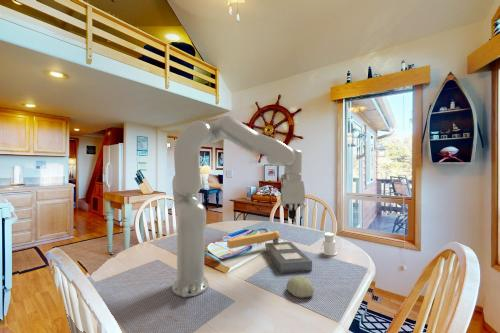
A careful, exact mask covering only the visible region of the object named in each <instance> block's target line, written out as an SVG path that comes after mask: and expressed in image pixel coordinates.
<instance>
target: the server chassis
mask: <svg viewBox="0 0 500 333" xmlns="http://www.w3.org/2000/svg"><path fill="white" fill-rule="evenodd" d="M265 247H266V252H265V253H266V254H267V256H268V257H269V259H270V260H271V261H272V263H273V264H274V266H275V267H276V269H277V270H278V272H279V273H280V274H285V273H286V274H289V273H298V272H299V273H300V272H309V271H310V272H311V271H313V260H311V259H310V258H309V257H308V256H307V255H306V254H305V253H304V252H302V251H301V250H300V248H298V247H297V246H296V245H295V244H294V243H292V242H291V241H282V242H279V239H275V240H272V242H267V243H266V242H265V244H264V248H265Z"/></svg>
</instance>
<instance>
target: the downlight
mask: <svg viewBox="0 0 500 333" xmlns="http://www.w3.org/2000/svg"><path fill="white" fill-rule="evenodd" d="M338 245H339V244H338V243H337V244H336V240H335V234H334V233H332V232H325V233H324V239H323V241H322V245H321V248H320V249H321V251H322V254H324V255H327V256H336V255H338V252H337V251H338V248H339V246H338Z"/></svg>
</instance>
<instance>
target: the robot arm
mask: <svg viewBox="0 0 500 333" xmlns="http://www.w3.org/2000/svg"><path fill="white" fill-rule="evenodd" d="M223 140H227V141H229V142H231V143H232V144H235V145H237V146H238V147H240V148H241V149H243V150H245V151H247V152H250V153H252V154H253V153H256V154H260V155H264V156H266V159H265V160H266V161H267V163H268V164H269V165H270V166H275V167H284V168H283V169H284V170H283V171H284V173H283V174H281V175H280V176H281V178H282V179H283V180H282V182H281V188H280V206H282V207H286V209H288V210H287V215H288V218H289V219H290V220H296V216H297V210H298V208H299V207H301V206H304V205H305V201H306V195H305V194H306V189H305V184H304V181H303V180H302V166H303V164H302V161H303V160H302V158H303V152H302V151H301V150H299V149H292V148H291V147H289V146H288V145H286V144H285V143H283V142H282V141H279V140H278V139H276V138H273V137H271V136H268V135H266V134H263V133H260V132H257V131H256V130H254V129H252V128H251V127H249V126H248V125H247V124H244V123H243V122H241V121H240V120H238V119H236V118H235V117H233V116H230V115H224V116H221V117H220V118H218V119H216V120H214V121H210V122H205V121H204V120H195V121H193V122H191V123H190V124H188V125H186V126H185V127H184V128H183V129H182V131H180V133H179V135H178V136H177V138H176V141H175V144H174V148H173V158H174V160H173V161H174V176H173V178H172V181H171V182H172V183H171V184H172V194H173V196H172V197H173V204H174V211H175V212H174V213H175V215H176V217H177V220H178V221H177V237H176V239H177V240H176V241H177V243H176V244H177V246H176V250H177V251H176V256H177V258H176V259H177V260H176V280H175V281H174V282H173V283H172V287H171V290H172V293H173V294H174V295H175V296H178V297H181V298H182V297H183V298H188V297H194V296H198V295H201V294H202V293H203V292H205V291H206V290H207V289H208V286H209V281H208V279H207V278H206V277H205V245H206V244H205V239H206V238H205V235H206V234H205V233H206V231H205V230H206V225H207V211H206V207H205V206H204V205H203V203H201V202H200V201H199V194H198V193H199V192H200V190H202V189H201V188H202V178H201V170H200V168H201V167H200V151H201V149H202V146H205V145H208V144H212V143H216V142H220V141H223Z"/></svg>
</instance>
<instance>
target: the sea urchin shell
mask: <svg viewBox="0 0 500 333" xmlns="http://www.w3.org/2000/svg"><path fill="white" fill-rule="evenodd" d="M314 289H315V287H314V285H313V283H312V281H311V280H310V279H309V278H307V277H303V276H299V275H296V276H292V277H291V278H290V279H289V280H288V281H287V283H286V290H287V291H288V292H289V293H290V294H291V295H293V296H294V297H296V298H298V299H300V298H301V299H302V298H309V297H311V296H312V295H314V291H315V290H314Z"/></svg>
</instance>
